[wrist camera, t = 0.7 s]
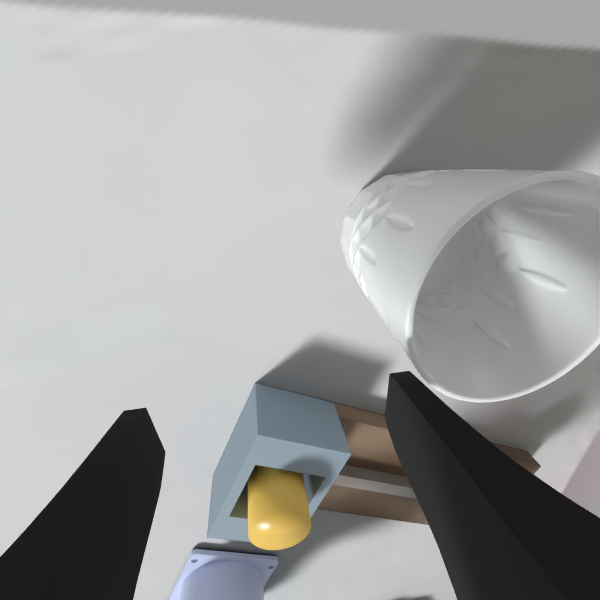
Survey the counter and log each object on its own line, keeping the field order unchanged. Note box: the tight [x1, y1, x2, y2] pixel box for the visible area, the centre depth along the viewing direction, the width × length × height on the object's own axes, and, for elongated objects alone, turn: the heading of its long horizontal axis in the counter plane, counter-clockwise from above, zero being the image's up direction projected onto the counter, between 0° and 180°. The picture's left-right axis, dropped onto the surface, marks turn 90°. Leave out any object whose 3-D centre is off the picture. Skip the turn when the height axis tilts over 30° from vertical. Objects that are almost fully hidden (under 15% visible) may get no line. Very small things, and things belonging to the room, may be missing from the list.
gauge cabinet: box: [207, 383, 351, 542], centre depth 23 cm, size 9×6×4 cm, turn 156°
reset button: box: [248, 465, 312, 550], centre depth 21 cm, size 4×4×4 cm
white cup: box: [340, 169, 600, 402], centre depth 15 cm, size 8×8×10 cm
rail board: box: [317, 403, 541, 525], centre depth 27 cm, size 9×20×2 cm, turn 66°
